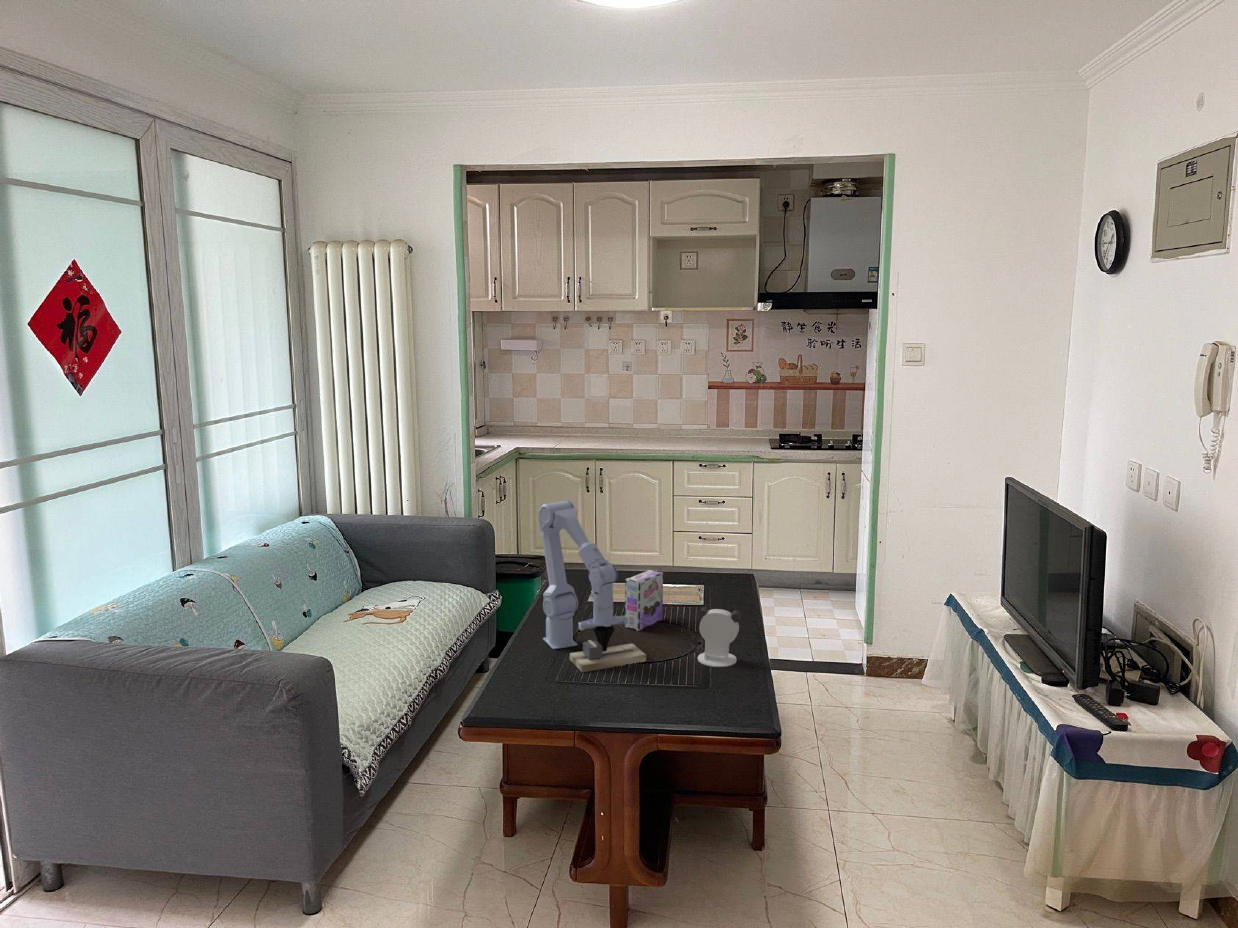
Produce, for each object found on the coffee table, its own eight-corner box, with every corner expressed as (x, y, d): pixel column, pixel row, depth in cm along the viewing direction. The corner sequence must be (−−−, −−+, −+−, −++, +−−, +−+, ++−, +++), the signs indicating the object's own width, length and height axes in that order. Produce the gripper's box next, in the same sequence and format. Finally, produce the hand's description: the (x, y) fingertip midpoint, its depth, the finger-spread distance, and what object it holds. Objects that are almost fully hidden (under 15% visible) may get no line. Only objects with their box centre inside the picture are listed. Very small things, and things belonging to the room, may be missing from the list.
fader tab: (583, 652, 255) (582, 641, 255) (595, 650, 257) (595, 639, 256) (589, 658, 251) (589, 646, 250) (602, 656, 252) (602, 644, 252)
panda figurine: (741, 654, 261) (742, 606, 259) (735, 669, 250) (737, 618, 248) (701, 650, 264) (702, 602, 262) (694, 664, 253) (695, 614, 251)
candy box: (638, 631, 280) (639, 581, 277) (624, 627, 283) (624, 578, 281) (663, 619, 291) (663, 571, 288) (648, 616, 294) (649, 568, 291)
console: (569, 659, 257) (569, 652, 256) (631, 649, 265) (631, 642, 264) (582, 672, 248) (582, 665, 247) (646, 661, 256) (646, 654, 255)
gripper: (584, 612, 246) (584, 658, 249) (631, 606, 252) (631, 651, 254) (575, 605, 253) (576, 650, 255) (621, 598, 258) (621, 642, 261)
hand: (603, 650), depth 255 cm, fingers closed
